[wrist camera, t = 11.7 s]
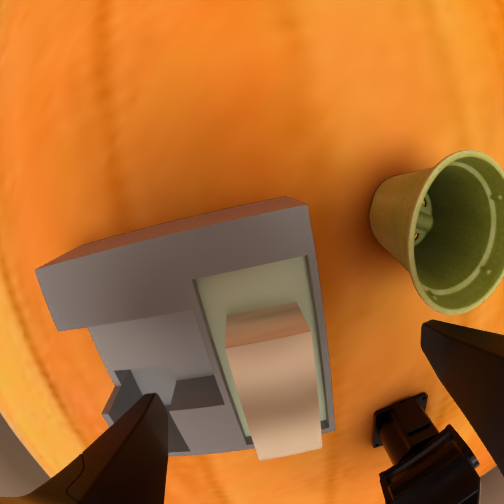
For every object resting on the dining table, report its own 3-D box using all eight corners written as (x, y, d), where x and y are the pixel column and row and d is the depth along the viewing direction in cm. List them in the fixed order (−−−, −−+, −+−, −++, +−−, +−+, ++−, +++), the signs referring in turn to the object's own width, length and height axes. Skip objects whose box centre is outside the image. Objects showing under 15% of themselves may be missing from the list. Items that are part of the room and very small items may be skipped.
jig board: (315, 379, 25) (334, 430, 19) (146, 407, 25) (130, 456, 19) (285, 196, 21) (307, 204, 15) (80, 245, 21) (34, 269, 15)
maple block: (311, 412, 19) (322, 447, 16) (255, 424, 19) (259, 460, 16) (296, 301, 17) (311, 331, 13) (226, 315, 17) (224, 348, 13)
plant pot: (457, 231, 22) (527, 255, 14) (380, 293, 23) (438, 344, 15) (415, 135, 20) (490, 124, 12) (325, 195, 21) (379, 207, 13)
